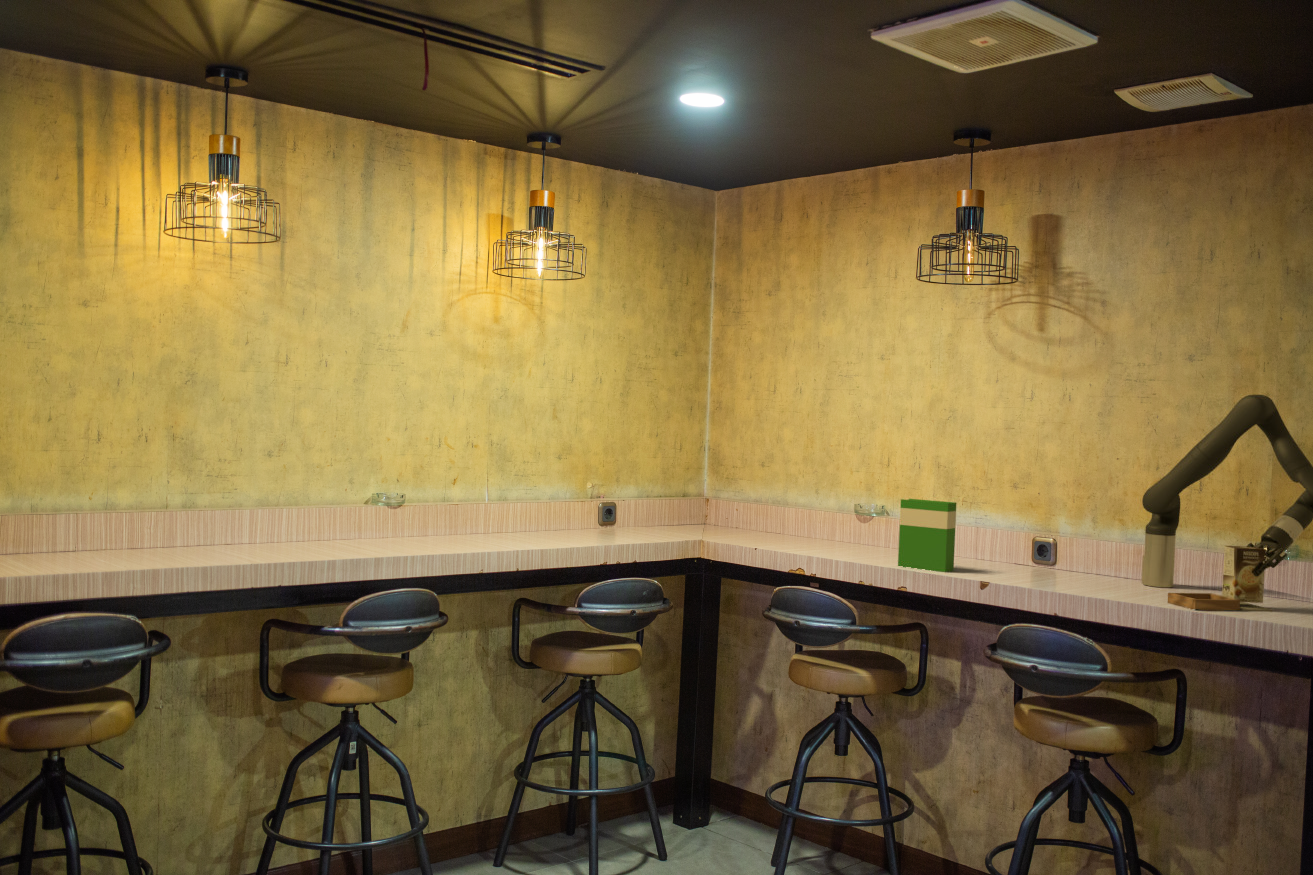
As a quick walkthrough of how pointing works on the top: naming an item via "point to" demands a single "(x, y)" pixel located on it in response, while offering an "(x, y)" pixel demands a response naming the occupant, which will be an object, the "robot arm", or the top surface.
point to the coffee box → (1243, 574)
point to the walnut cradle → (1203, 601)
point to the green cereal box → (927, 535)
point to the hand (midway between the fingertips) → (1245, 572)
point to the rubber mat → (1252, 607)
